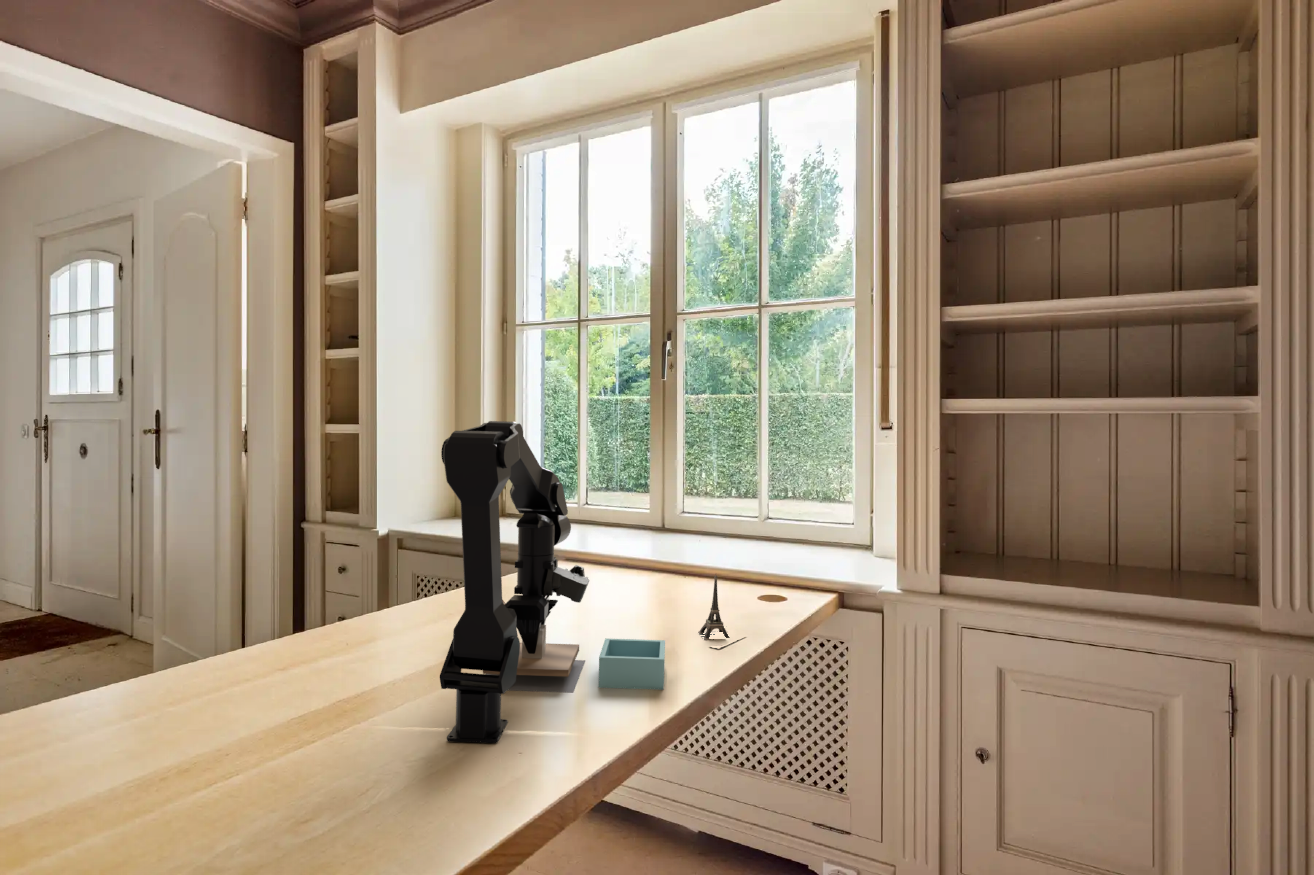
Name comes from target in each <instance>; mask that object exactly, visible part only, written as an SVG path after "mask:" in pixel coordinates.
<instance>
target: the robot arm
mask: <svg viewBox="0 0 1314 875" xmlns="http://www.w3.org/2000/svg"><path fill="white" fill-rule="evenodd" d="M440 451H441V452H440V453H441V460H442V464H443V465H444V472H445V479H446V483H447V484H448V486H449V487H450V488H451V490H452V491H453V493H454V494H455V497H457V498H458V500H459V502H460V518H461V519H460V520H461V521H460V522H461V539H462V540H461V541H462V545H461V546H462V564H463V565H462V566H463V587H464V610H463V613H462V614H461V616H460V618H459V619H458V621H457V623H456V625H455V626H454V628H453V630H452V632H453V633H452V634H453V635H452V637H453V638H452V640H451V643H450V645H449V648H448V651H447V653H446V657H445V659H444V663H443V665H442V667H441V670H440V673H439V682H440V687H441V688H440V689H441V690H448V689H449V690H456V692H455V693H456V696H455V698H456V699H455V701H456V702H455V724H454V726H453V727H452V729H451V731H450V732H449V733H448V734H447V736H446V742H455V743H458V742H459V743H479V744H480V743H484V744H485V743H486V744H487V743H488V744H496V743H498V742H499V740H500V738H501V736H502V735H503V733H504V731H505V728H506V727H507V725H508V723H509V720H508V719H507V718H504V719H503V718H501V717H502V716H501V713H502V711H501V710H502V695H504V694H505V693H506V692H507V690H508V689H509V688H510V687H511V686H512V685H513V684H514V683H515V681H516V674H517V667H518V659H519V652H520V643H521V642H520V639H521V641H522V640H523V643H524V645H525V647H526V650H527V652H528V653H529V654H534V653H535V652H536V647H537V642H538V637H539V632H540V627H541V625H546V621H547V618H548V617H549V615H550V614H551V612H552V609H554V608H555V606H556V605H557V603H558V601H559V600H558V599H550V597H551V596H553V593H555V594H556V595H555V596H556V597H561V596H563V597H565V598H568V599H570V601H572V602H574V603H581V602H582V600H583V598H584V595H585V593H586V590H587V587H588V585H589V582H590V579H589V577H588V576H586V574H585V567H583V566H580V565H579V564H575V565H574V566H573V567H572V568H570V569H569V568H565V569H564V568H561V567H559V566H558V563H559V560H558V559H557V557H556V556H555V546H556V545H558V544H560V543H562V542H564V541H565V540H567V538H568V537H569V535H570V533H571V532H572V531H571V530H572V525H571V522H570V519H569V518H568V516H567V515H568V512H569V511H568V507H567V506H568V505H567V502H566V501H567V500H566V496H565V492H564V487H563V484H562V482H560V478H559V477H558V476H557V475H556V474H555V473H554V472H553V471H552V470H550V469H547V468H544V467H542V466H541V465H540V463H539V462H538V460H537V458H536V456H535V454H534V453H533V451H532V449H531V447H530V446H529V443H528V442H527V440H526V439H525V437H524V430H523V426H522V424H520V423H517V422H516V421H501V420H499V421H497V420H496V421H495V420H489V421H488V422H484V423H482V424H480V425H479V426H475V427H471V428H467V429H462V430H454V431H453V432H452V433H451V435H450V436H449V437H447V438H446V439H445V440H444V441H443V443H442V446H441V450H440ZM508 481H510V483H511V487H510V490H509V495H510V498H511V502H512V503H513V505H514V507H515V510H516V511H517V513H519V515H520V514H522V516H521V517H520V518H518V520H517V522H516V524H515V525H516V527H517V529H518V530H517V531H518V532H517V533H518V535H517V537H518V538H517V559H516V560H515V561H514V568H515V569H517V573H516V575H517V576H516V577H517V578H516V582H517V583H516V585H515V586H514V588H513V589H514V590H513V591H514V592H513V593H514V595H513V596H511V597H510V599H508V600H507V601H506V602H505V603H506V604H505V605H504V603H503V602H502V600H503V585H502V584H503V582H502V556H501V554H502V553H501V527H500V526H501V525H500V495H501V494H502V492H503V490H504V488H505V487H506V485H507V483H508ZM568 569H569V570H568ZM518 634H519V635H520V637H521V638H519V636H518ZM462 670H473V671H475V670H476V671H483V670H484V671H496V672H500V674H499V676H498V675H486V674H483V673H474V672H473V673H472V672H462Z"/></svg>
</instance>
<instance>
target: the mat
mask: <svg viewBox="0 0 1314 875" xmlns="http://www.w3.org/2000/svg"><path fill="white" fill-rule="evenodd" d="M585 664H586V660H583V659H575V662H574V664H573V666H572V669H571V671H570V674H569V676H568V677H567V676H536V675H516V681H515V683H514V684H513V685H512V686H511V687H510V688H509V689H508V690H507V691H509V692H510V691H512V692H513V691H515V692H537V693H538V692H539V693H540V692H542V693H567V694H570V693H575V689H576V686H577V684H578V682H579V679H580V678H581V677H580V676H581V673H582V671H583V668H584V665H585ZM486 675H498V676H499V674H486ZM507 691H506V692H507Z"/></svg>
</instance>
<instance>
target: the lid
mask: <svg viewBox="0 0 1314 875" xmlns="http://www.w3.org/2000/svg"><path fill="white" fill-rule="evenodd" d="M546 635H547V624H545V625H541V627H540V632H539V637H538V642H537V647H536V652H535V653H534V654H529V653H528V652H527V650H526V647H525V645H524V643H523V640H522V639H521V642H520V652H519V659H518V667H517V674H516V675H536V676H567V677H568V676H569V674H570V671H571V669H572V666H573V664H574V662H575V660H577V657H578V655H579V652H580V643H579V644H578V643H577V644H573V643H572V644H571V643H547V642H546V640H547V636H546ZM482 674H500V672H496V671H484V670H482Z"/></svg>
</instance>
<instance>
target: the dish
mask: <svg viewBox="0 0 1314 875" xmlns="http://www.w3.org/2000/svg"><path fill="white" fill-rule="evenodd" d="M665 658H666V640H665V639H663V640H662V639H636V638H635V639H634V638H633V639H632V638H631V639H630V638H605V639H604V642H603V644H602V648H601V651H600V652H599V657H598V687H597V688H600V689H601V688H603V689H604V688H605V689H606V688H607V689H631V690H632V689H633V690H634V689H635V690H661V691H662V690H663V691H664V687H665V663H666V662H665V661H666V659H665Z"/></svg>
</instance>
